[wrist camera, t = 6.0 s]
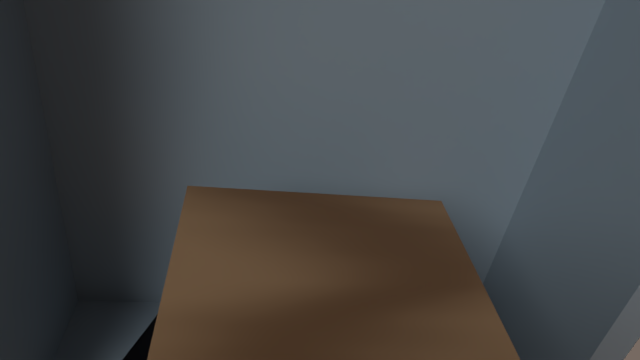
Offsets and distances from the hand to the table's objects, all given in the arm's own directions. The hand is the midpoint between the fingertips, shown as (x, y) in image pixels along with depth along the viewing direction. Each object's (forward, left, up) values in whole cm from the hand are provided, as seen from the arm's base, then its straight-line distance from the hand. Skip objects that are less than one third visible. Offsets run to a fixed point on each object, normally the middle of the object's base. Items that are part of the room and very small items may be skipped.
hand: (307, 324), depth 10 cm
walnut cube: (0, 0, -1) cm, 1 cm away
